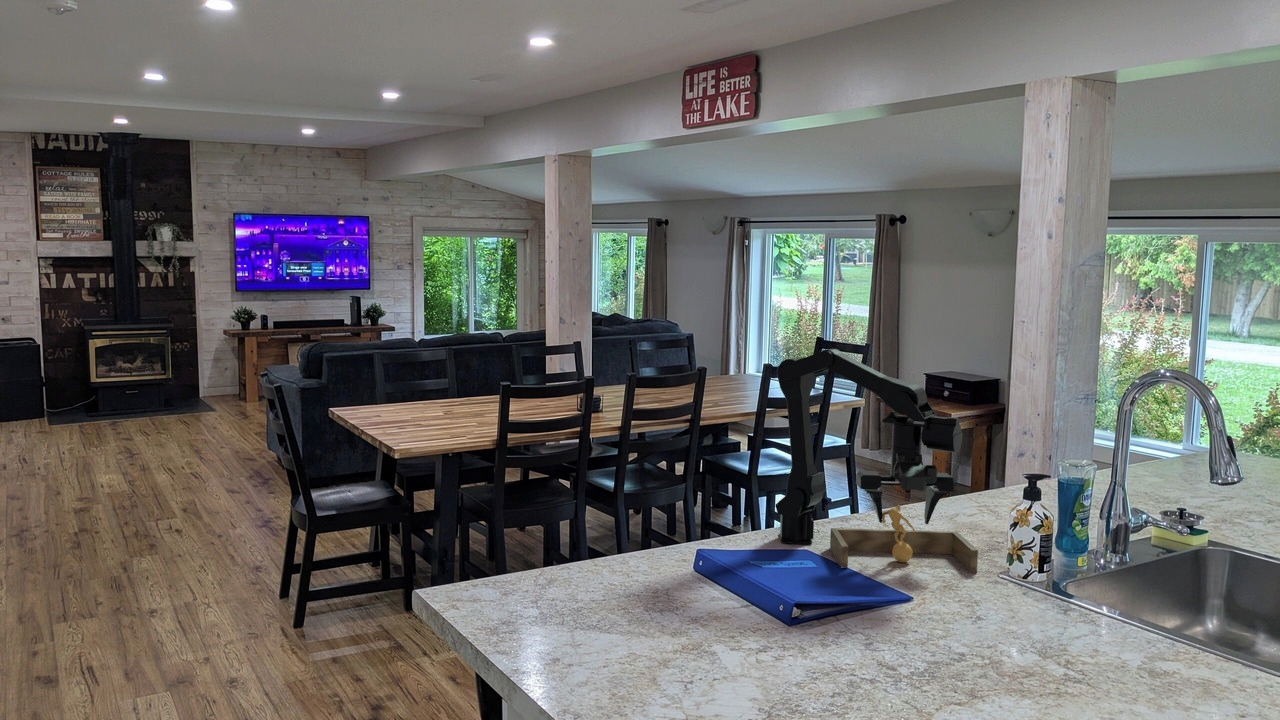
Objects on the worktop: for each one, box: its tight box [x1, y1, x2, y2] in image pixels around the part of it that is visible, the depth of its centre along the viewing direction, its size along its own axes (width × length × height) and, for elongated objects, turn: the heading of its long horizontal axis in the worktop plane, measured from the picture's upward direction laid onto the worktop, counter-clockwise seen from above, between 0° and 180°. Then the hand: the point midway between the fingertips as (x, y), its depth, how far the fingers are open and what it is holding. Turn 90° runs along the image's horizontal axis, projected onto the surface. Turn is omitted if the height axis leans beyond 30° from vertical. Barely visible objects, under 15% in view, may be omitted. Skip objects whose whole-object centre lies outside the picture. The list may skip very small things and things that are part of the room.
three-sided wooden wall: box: [829, 527, 979, 574], centre depth 197 cm, size 26×14×4 cm, turn 88°
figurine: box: [882, 504, 915, 563], centre depth 195 cm, size 8×6×12 cm
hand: (903, 523), depth 195 cm, fingers open, 9 cm apart
